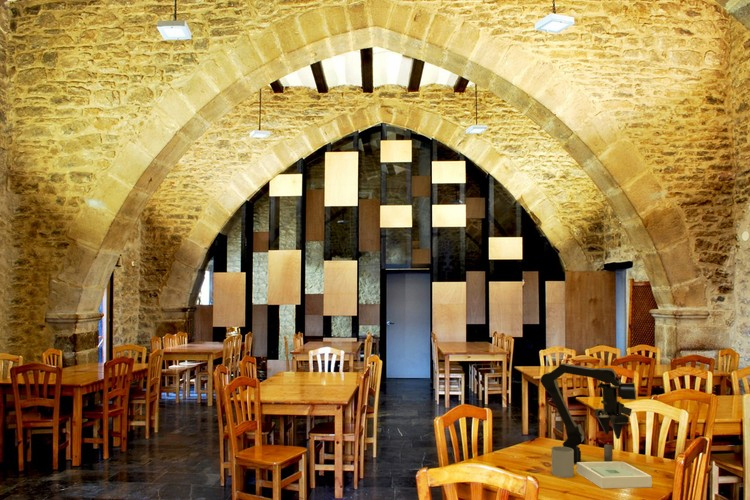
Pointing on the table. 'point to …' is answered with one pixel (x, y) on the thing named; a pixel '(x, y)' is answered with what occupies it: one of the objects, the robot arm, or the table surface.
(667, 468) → the table surface
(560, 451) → the cup
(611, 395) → the robot arm
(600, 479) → the tray
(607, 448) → the peg
